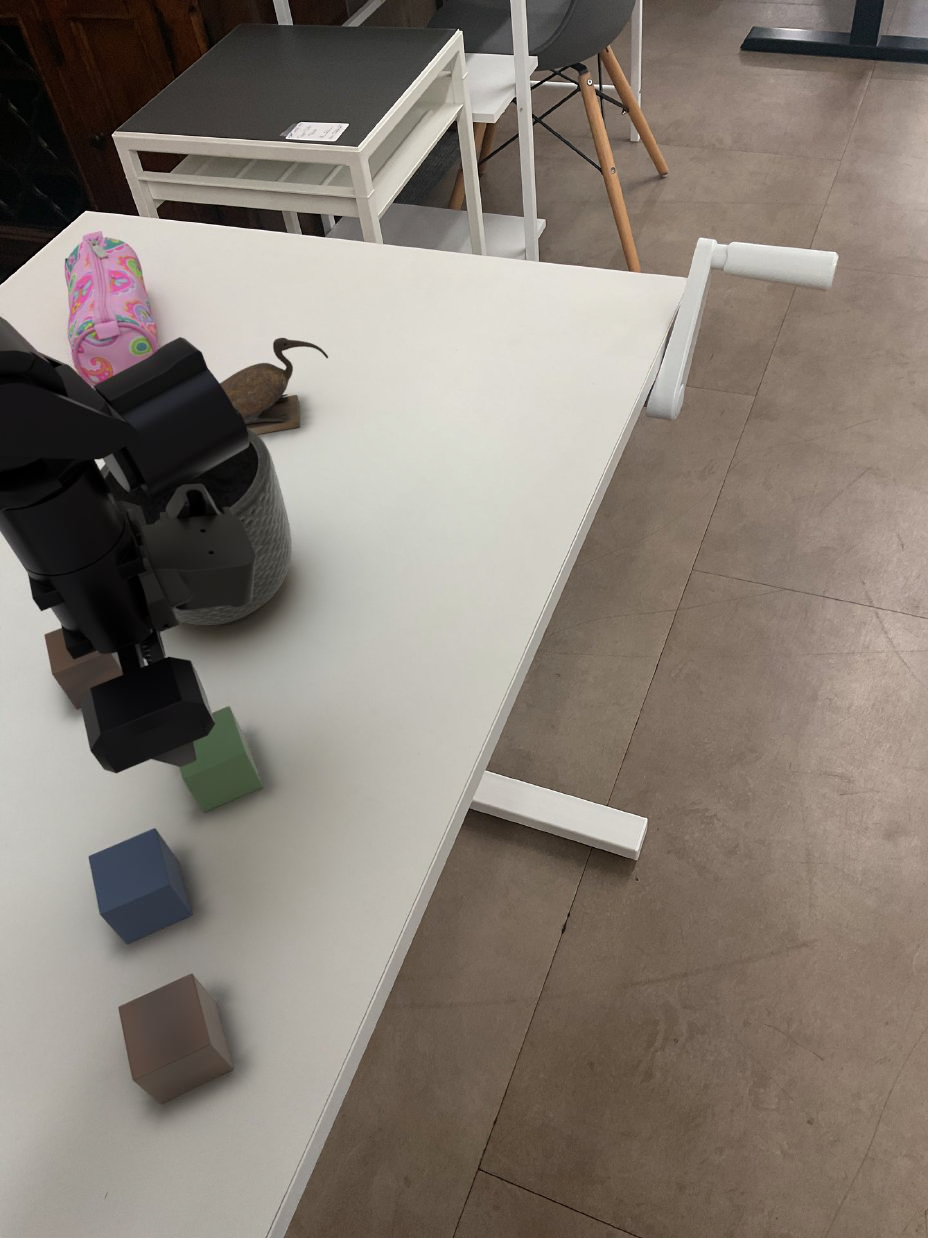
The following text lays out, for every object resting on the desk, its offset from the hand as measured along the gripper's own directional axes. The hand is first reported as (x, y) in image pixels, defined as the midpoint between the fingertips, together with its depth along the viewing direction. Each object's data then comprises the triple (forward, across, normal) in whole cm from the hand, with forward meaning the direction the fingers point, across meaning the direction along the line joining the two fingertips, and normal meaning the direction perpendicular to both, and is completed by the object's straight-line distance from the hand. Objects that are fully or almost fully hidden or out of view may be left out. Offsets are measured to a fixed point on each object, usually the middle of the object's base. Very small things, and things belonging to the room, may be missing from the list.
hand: (172, 708), depth 65 cm
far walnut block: (+10, +15, +6) cm, 19 cm away
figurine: (+10, +40, -16) cm, 44 cm away
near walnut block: (+10, -17, +6) cm, 21 cm away
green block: (+10, +1, -1) cm, 10 cm away
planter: (+10, +19, -6) cm, 22 cm away
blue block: (+10, -6, +6) cm, 13 cm away
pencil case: (+10, +62, -4) cm, 63 cm away
